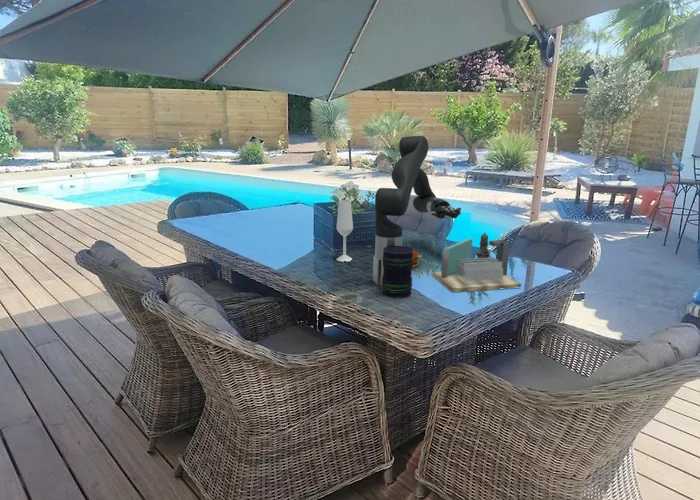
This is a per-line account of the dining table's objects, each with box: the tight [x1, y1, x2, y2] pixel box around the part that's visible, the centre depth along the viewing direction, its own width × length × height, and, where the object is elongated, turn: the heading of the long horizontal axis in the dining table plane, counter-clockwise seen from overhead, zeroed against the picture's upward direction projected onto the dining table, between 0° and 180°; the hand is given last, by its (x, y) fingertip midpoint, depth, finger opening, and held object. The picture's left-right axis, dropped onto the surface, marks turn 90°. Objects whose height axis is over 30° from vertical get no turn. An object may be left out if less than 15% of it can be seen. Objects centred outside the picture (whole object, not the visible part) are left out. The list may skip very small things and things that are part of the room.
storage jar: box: [381, 245, 414, 299], centre depth 167 cm, size 10×10×15 cm
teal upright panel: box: [440, 238, 473, 277], centre depth 187 cm, size 21×2×10 cm, turn 142°
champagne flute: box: [335, 199, 354, 262], centre depth 205 cm, size 7×7×24 cm
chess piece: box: [475, 232, 491, 258], centre depth 206 cm, size 6×6×12 cm
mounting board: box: [432, 271, 522, 293], centre depth 181 cm, size 25×18×2 cm
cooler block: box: [455, 239, 510, 284], centre depth 179 cm, size 20×12×12 cm, turn 102°
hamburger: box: [412, 249, 423, 269], centre depth 199 cm, size 9×10×7 cm
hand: (455, 215), depth 196 cm, fingers closed
